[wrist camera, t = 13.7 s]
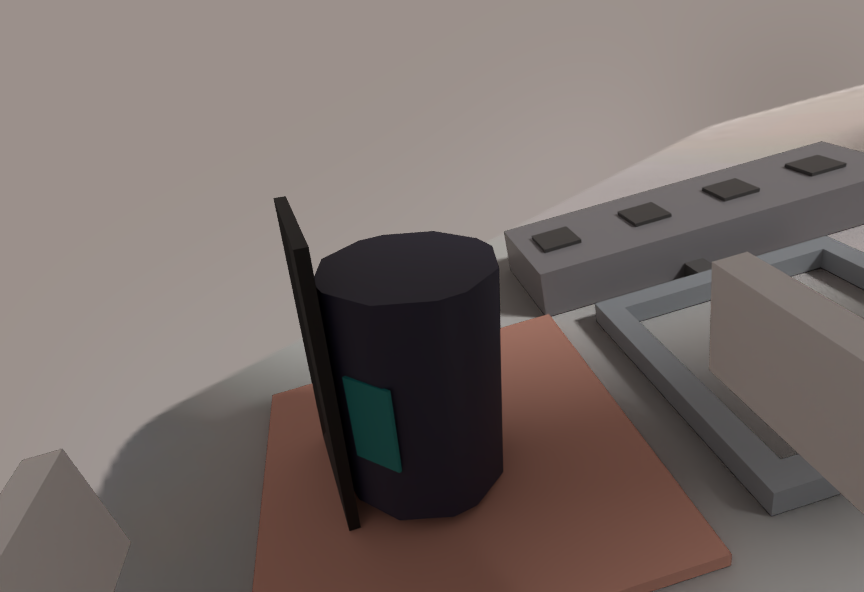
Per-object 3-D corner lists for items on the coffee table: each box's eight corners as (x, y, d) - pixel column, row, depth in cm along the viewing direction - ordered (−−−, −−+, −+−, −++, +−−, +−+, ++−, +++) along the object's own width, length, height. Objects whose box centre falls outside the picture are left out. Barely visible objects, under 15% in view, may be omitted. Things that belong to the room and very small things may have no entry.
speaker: (291, 551, 19) (197, 266, 14) (323, 435, 24) (263, 198, 19) (521, 536, 18) (502, 235, 14) (504, 420, 23) (486, 173, 19)
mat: (550, 322, 28) (548, 313, 28) (730, 565, 16) (732, 554, 16) (276, 403, 27) (272, 395, 27) (246, 724, 15) (239, 715, 15)
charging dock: (816, 180, 35) (822, 138, 34) (1292, 347, 18) (1340, 273, 17) (510, 269, 34) (503, 228, 33) (709, 536, 17) (711, 472, 16)
